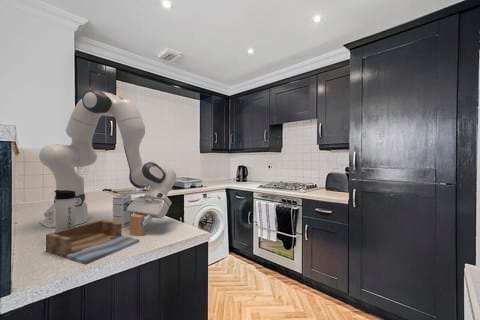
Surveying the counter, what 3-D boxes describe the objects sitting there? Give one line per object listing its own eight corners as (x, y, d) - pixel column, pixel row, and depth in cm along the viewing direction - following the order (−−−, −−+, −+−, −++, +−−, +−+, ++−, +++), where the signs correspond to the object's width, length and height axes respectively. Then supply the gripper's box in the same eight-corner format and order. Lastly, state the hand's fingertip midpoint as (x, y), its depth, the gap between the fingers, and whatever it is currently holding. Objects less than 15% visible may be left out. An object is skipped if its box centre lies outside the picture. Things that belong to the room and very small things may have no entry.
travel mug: (57, 238, 88) (57, 189, 88) (77, 236, 91) (77, 188, 91) (51, 244, 83) (51, 191, 83) (72, 241, 85) (72, 190, 85)
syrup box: (123, 227, 103) (123, 196, 103) (112, 226, 105) (112, 196, 104) (131, 224, 109) (131, 194, 109) (121, 223, 110) (121, 194, 110)
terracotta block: (130, 234, 94) (130, 215, 94) (135, 232, 97) (136, 214, 97) (138, 236, 92) (138, 217, 92) (144, 234, 95) (144, 215, 95)
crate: (45, 251, 76) (45, 234, 76) (102, 233, 95) (102, 219, 95) (85, 264, 67) (85, 244, 67) (139, 241, 86) (139, 226, 86)
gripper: (134, 192, 105) (115, 217, 96) (167, 195, 97) (150, 223, 88) (142, 199, 109) (124, 224, 100) (174, 203, 101) (158, 231, 92)
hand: (137, 224), depth 94 cm, fingers closed on terracotta block, 5 cm apart
